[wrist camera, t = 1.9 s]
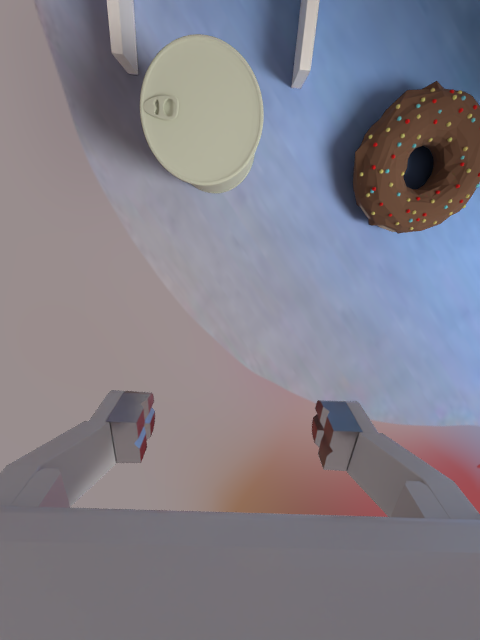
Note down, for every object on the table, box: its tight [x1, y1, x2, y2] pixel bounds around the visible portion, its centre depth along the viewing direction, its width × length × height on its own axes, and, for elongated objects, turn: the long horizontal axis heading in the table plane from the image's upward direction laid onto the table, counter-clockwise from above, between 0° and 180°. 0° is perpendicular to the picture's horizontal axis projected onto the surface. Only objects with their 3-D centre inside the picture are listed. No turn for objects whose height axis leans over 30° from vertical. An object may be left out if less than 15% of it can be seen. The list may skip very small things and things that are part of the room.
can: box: [140, 34, 263, 193], centre depth 25 cm, size 9×9×12 cm
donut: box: [353, 81, 480, 233], centre depth 29 cm, size 14×14×5 cm
